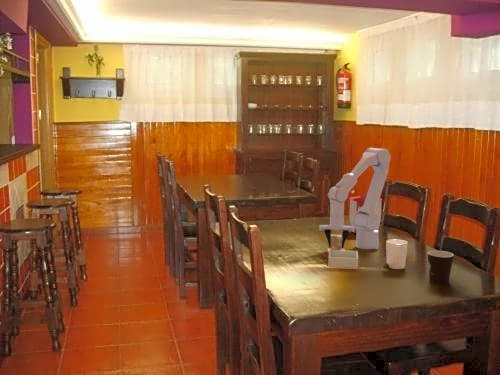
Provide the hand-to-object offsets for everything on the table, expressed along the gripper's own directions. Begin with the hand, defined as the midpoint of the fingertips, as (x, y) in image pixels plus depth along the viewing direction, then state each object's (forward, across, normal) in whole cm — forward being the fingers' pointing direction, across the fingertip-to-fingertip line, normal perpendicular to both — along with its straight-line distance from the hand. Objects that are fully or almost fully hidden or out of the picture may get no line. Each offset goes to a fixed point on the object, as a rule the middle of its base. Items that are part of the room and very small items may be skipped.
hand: (336, 247), depth 224 cm
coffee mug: (+3, +37, -29) cm, 47 cm away
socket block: (+1, 0, 0) cm, 1 cm away
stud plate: (+3, 0, 0) cm, 3 cm away
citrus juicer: (+3, +13, +41) cm, 43 cm away
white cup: (+3, +23, -15) cm, 28 cm away
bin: (+3, +3, -15) cm, 16 cm away
